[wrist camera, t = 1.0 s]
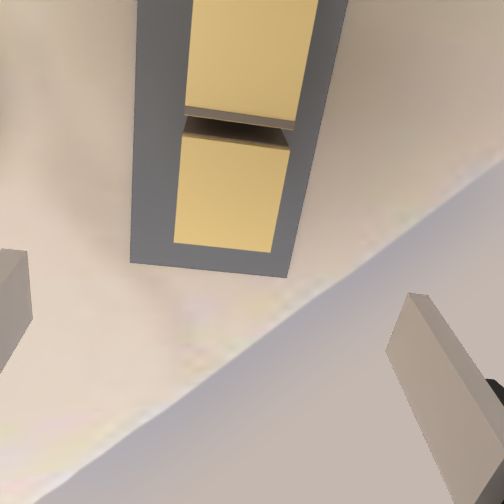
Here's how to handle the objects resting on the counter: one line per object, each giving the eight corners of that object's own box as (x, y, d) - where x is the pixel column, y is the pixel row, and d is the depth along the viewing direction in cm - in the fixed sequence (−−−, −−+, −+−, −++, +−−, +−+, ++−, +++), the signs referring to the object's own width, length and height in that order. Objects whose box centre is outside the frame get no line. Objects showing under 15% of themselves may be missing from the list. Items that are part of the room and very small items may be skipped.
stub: (194, 91, 33) (182, 134, 23) (268, 102, 34) (290, 149, 23) (187, 171, 36) (173, 242, 26) (256, 180, 37) (270, 252, 26)
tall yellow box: (209, -73, 29) (202, -113, 18) (294, -56, 30) (335, -86, 19) (195, 79, 33) (183, 117, 23) (270, 90, 34) (293, 132, 23)
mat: (142, -104, 28) (140, -106, 28) (359, -61, 30) (361, -62, 30) (130, 259, 40) (129, 262, 40) (285, 275, 42) (286, 278, 42)
